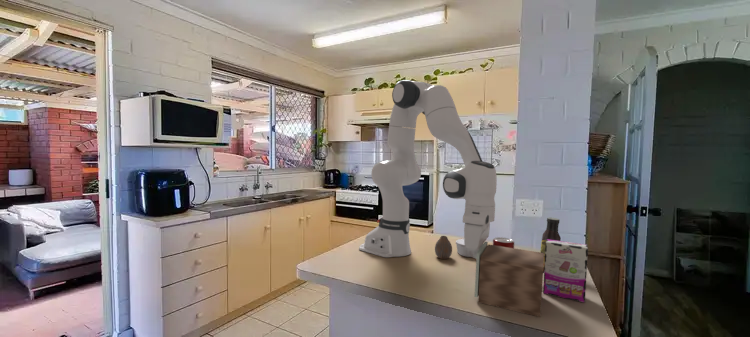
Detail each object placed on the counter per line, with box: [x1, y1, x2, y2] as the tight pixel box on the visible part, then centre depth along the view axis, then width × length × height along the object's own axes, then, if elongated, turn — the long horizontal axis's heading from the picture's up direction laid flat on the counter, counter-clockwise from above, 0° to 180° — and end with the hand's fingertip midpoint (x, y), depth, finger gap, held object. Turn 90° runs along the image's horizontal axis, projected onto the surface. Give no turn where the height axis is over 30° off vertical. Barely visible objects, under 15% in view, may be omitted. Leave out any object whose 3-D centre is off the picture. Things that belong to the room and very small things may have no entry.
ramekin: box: [455, 238, 473, 258], centre depth 137 cm, size 11×11×5 cm
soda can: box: [492, 236, 515, 248], centre depth 117 cm, size 7×7×12 cm
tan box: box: [477, 244, 544, 318], centre depth 95 cm, size 16×14×14 cm
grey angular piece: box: [474, 241, 489, 298], centre depth 96 cm, size 15×14×13 cm
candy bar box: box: [542, 239, 589, 303], centre depth 99 cm, size 11×5×16 cm, turn 58°
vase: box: [434, 235, 453, 260], centre depth 131 cm, size 7×7×9 cm
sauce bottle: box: [539, 217, 562, 272], centre depth 119 cm, size 7×6×20 cm
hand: (477, 257), depth 100 cm, fingers closed
